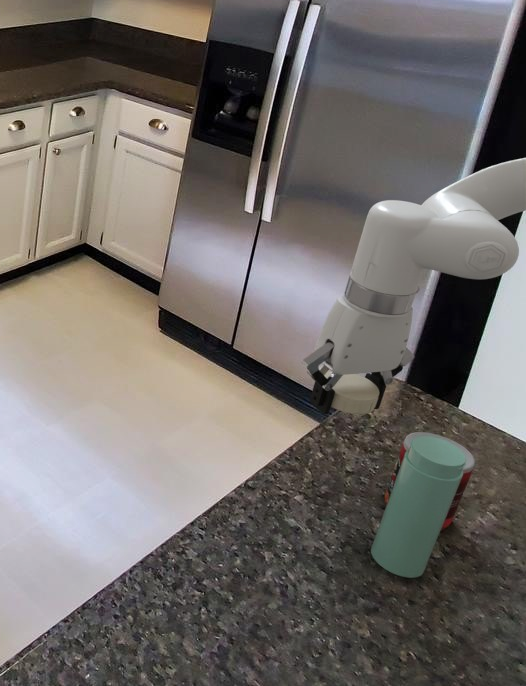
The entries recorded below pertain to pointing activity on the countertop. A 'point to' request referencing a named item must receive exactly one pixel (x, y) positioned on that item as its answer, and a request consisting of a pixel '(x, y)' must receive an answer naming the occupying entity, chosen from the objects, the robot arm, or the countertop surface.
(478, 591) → the countertop surface
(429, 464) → the thermos
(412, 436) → the canned food
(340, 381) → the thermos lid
